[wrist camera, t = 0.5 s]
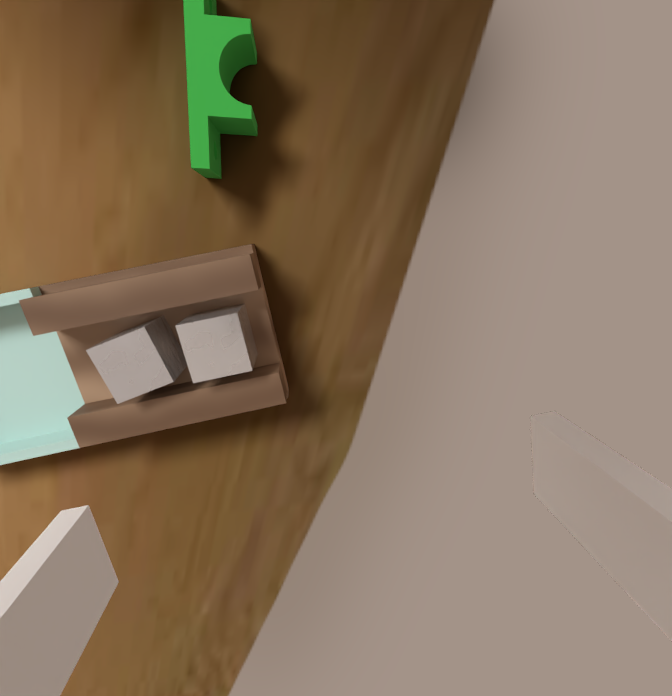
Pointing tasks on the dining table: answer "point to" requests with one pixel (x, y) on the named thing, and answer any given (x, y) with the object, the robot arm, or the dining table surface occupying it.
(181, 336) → the chip
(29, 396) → the tray
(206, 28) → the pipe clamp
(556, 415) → the robot arm
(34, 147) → the dining table surface
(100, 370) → the chip
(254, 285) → the slot board
